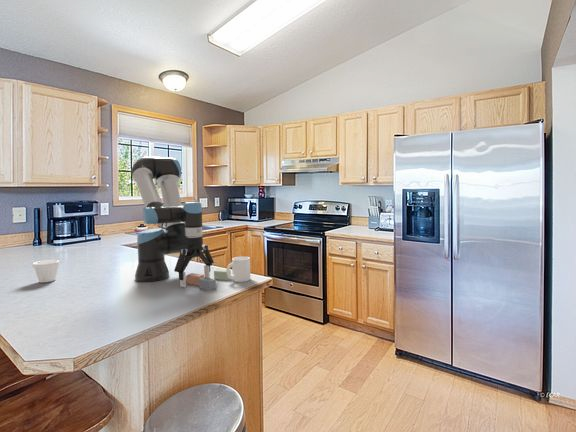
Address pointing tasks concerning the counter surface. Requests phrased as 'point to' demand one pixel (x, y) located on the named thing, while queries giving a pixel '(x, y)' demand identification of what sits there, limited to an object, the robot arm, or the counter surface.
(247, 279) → the mug
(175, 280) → the counter surface
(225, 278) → the sage brick
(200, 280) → the slate brick
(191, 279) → the terracotta brick
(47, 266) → the cup
